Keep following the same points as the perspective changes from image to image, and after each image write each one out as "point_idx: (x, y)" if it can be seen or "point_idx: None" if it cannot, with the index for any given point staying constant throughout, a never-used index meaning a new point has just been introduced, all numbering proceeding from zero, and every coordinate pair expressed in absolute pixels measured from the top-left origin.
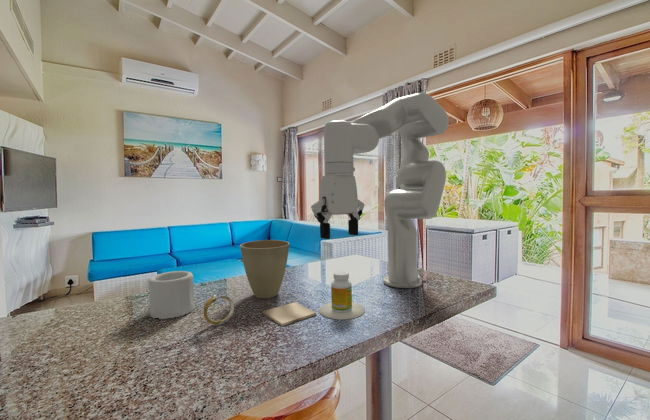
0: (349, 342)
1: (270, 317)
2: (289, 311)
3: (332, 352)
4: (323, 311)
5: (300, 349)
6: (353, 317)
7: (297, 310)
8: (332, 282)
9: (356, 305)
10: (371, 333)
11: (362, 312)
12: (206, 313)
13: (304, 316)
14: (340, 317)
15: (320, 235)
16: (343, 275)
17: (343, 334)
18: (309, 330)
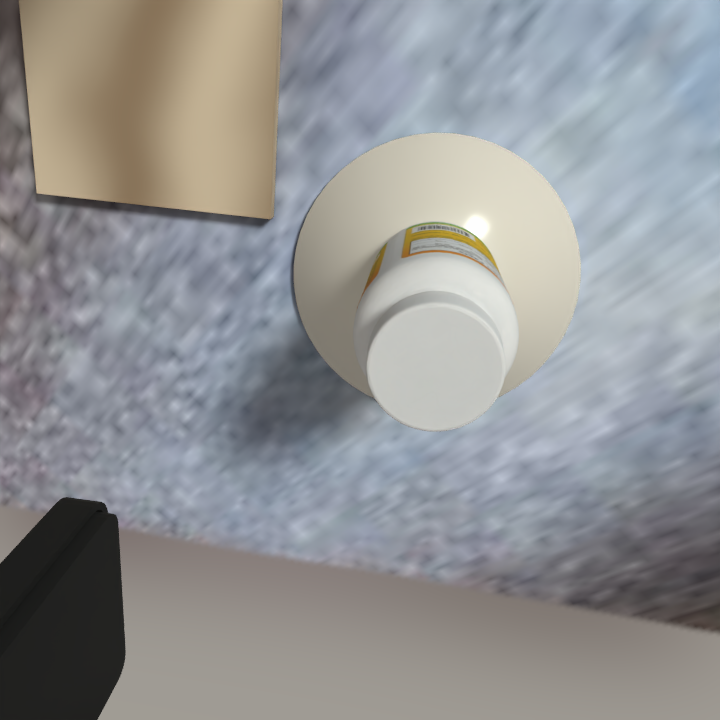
0: (197, 521)
1: (26, 42)
2: (154, 69)
3: None
4: (330, 221)
5: (15, 423)
6: None
7: (204, 96)
8: (372, 301)
9: (546, 309)
10: (320, 542)
11: None
12: None
13: (183, 209)
14: (339, 352)
15: (47, 513)
16: (400, 422)
17: (226, 467)
18: (132, 331)
